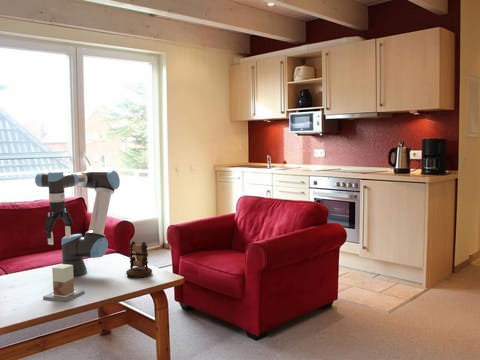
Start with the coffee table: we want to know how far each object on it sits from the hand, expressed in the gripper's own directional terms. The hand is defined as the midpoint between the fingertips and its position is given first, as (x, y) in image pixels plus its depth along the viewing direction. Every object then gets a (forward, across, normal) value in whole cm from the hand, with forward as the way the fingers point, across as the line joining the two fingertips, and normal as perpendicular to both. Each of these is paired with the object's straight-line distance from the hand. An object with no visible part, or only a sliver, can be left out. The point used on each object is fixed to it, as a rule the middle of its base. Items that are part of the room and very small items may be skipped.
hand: (59, 241), depth 244 cm
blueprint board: (+27, -7, -6) cm, 28 cm away
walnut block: (+25, -7, -6) cm, 27 cm away
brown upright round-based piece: (+28, +36, -25) cm, 52 cm away
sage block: (+18, -7, -6) cm, 20 cm away
